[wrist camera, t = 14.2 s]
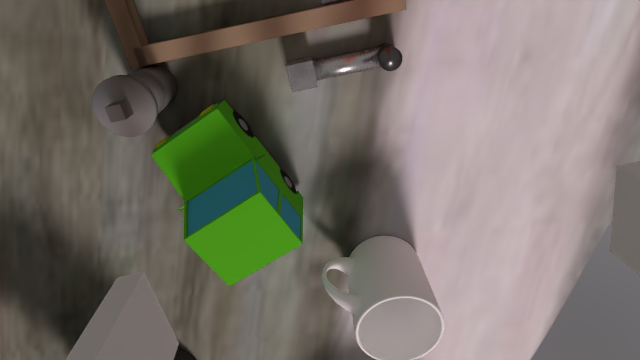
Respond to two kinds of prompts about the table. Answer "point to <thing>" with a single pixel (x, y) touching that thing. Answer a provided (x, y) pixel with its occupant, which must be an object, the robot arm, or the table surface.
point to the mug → (388, 299)
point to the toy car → (231, 193)
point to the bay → (158, 83)
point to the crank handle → (341, 65)
